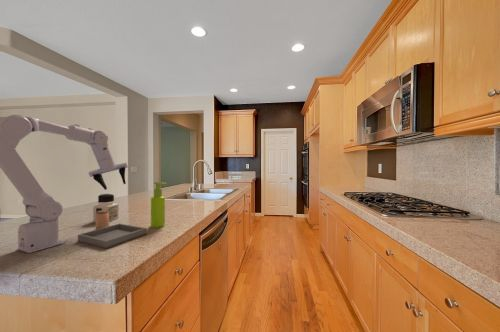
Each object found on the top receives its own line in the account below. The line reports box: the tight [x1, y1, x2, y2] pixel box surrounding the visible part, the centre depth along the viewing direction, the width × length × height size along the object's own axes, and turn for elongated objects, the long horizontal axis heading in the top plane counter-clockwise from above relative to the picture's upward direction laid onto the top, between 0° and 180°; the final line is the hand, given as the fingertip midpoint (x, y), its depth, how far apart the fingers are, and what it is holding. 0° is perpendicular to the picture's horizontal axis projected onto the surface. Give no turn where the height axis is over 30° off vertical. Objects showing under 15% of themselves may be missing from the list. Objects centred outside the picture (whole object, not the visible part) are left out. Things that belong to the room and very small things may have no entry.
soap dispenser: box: [150, 181, 167, 228], centre depth 98 cm, size 6×7×20 cm
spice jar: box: [95, 210, 110, 230], centre depth 92 cm, size 5×5×8 cm
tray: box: [77, 223, 148, 250], centre depth 82 cm, size 16×16×2 cm
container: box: [92, 193, 119, 223], centre depth 107 cm, size 8×8×13 cm
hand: (115, 186), depth 97 cm, fingers open, 7 cm apart
